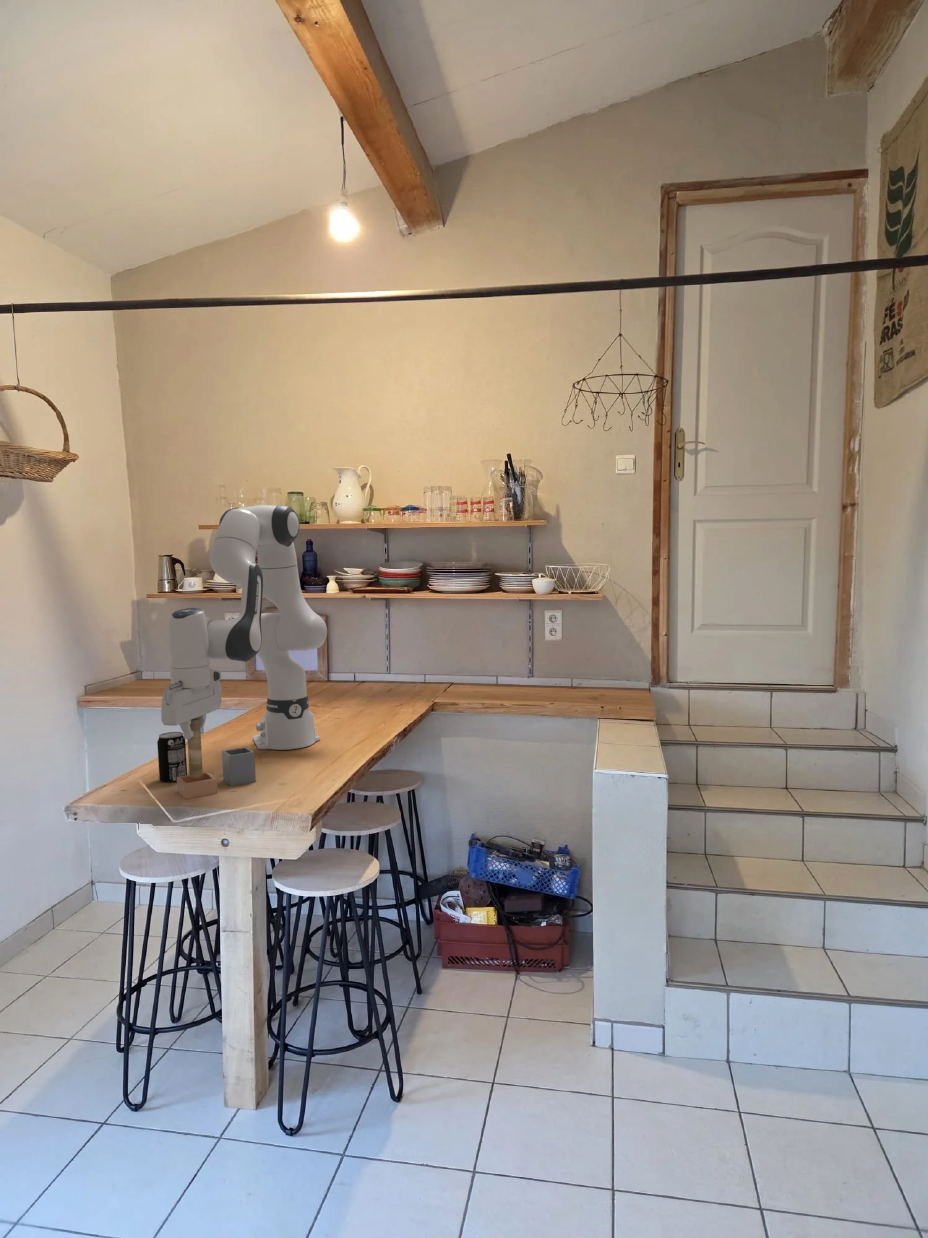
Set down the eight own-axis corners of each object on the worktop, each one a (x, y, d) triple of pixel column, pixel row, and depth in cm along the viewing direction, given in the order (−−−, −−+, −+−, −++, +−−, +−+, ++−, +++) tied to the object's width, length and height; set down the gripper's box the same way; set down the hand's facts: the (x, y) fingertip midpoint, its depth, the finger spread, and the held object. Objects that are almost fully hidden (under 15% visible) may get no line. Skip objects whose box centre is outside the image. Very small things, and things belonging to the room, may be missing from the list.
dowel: (188, 777, 187) (184, 719, 186) (201, 775, 189) (197, 717, 187) (191, 780, 184) (188, 721, 183) (204, 778, 186) (201, 719, 185)
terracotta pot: (177, 793, 188) (176, 777, 188) (208, 787, 192) (208, 771, 192) (184, 801, 182) (184, 784, 181) (217, 795, 186) (216, 778, 185)
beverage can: (166, 777, 202) (163, 731, 201) (191, 777, 202) (188, 731, 201) (155, 785, 195) (152, 737, 194) (181, 785, 195) (178, 737, 194)
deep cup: (223, 782, 196) (221, 750, 196) (248, 778, 200) (246, 747, 199) (230, 788, 191) (229, 756, 190) (255, 783, 194) (254, 752, 194)
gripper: (177, 686, 174) (181, 747, 175) (224, 671, 194) (227, 727, 195) (152, 685, 175) (155, 746, 176) (201, 671, 195) (204, 726, 196)
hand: (193, 736), depth 186 cm, fingers closed on dowel, 3 cm apart
